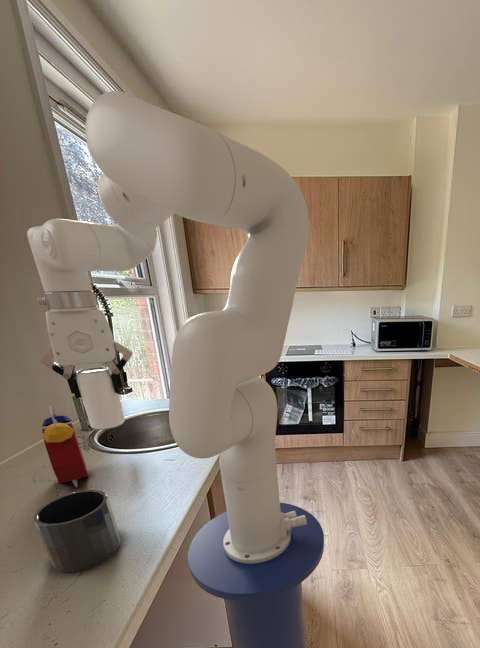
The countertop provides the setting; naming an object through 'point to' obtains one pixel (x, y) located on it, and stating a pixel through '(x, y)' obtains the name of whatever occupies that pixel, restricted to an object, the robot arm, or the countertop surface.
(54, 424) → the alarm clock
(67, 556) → the open gray tub
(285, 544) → the robot arm
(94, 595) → the countertop surface
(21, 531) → the countertop surface
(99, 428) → the can
